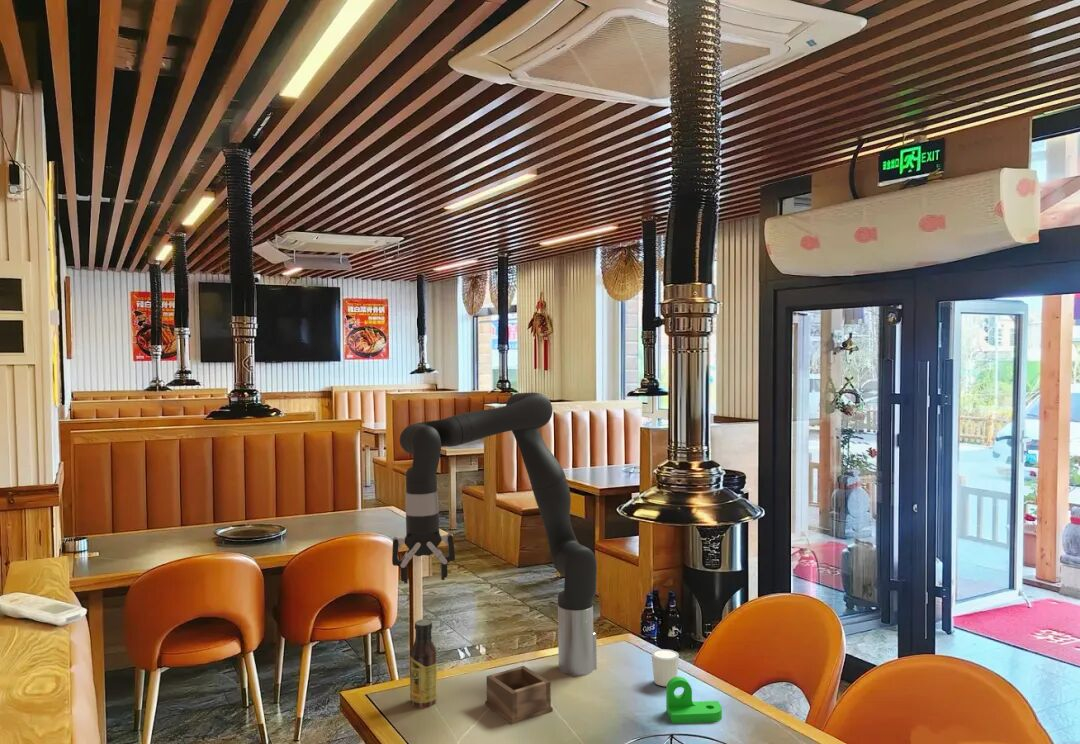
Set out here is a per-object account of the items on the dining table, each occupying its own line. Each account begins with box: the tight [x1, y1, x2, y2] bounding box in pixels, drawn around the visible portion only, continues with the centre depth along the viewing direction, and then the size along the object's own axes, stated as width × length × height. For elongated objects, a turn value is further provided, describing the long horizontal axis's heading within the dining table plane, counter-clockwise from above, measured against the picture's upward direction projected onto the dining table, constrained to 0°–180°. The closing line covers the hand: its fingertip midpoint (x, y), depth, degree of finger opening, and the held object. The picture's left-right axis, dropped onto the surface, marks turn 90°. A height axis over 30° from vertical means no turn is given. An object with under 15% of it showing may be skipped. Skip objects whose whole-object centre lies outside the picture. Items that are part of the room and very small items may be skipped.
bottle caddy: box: [484, 665, 554, 725], centre depth 181 cm, size 11×12×7 cm
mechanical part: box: [665, 676, 723, 724], centre depth 177 cm, size 12×6×8 cm, turn 93°
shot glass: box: [651, 648, 680, 687], centre depth 195 cm, size 7×7×7 cm
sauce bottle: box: [409, 618, 438, 709], centre depth 184 cm, size 7×6×20 cm
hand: (424, 581), depth 180 cm, fingers open, 8 cm apart
